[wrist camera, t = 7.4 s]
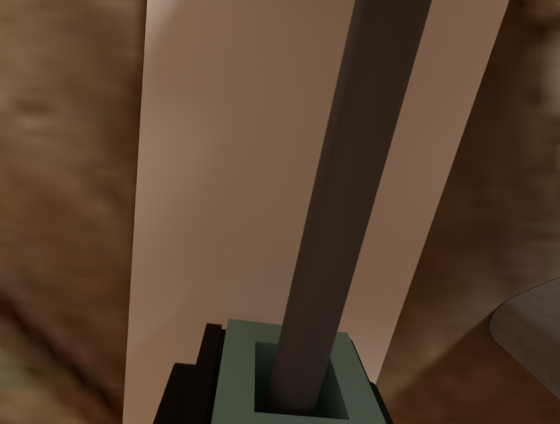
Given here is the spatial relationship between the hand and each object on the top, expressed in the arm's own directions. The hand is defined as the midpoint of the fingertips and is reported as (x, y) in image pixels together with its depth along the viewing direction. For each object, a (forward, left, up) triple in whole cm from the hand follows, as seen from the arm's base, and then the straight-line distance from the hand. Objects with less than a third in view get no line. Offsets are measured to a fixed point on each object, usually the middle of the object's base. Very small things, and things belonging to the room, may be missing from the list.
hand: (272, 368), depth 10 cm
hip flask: (-4, +19, -4) cm, 20 cm away
